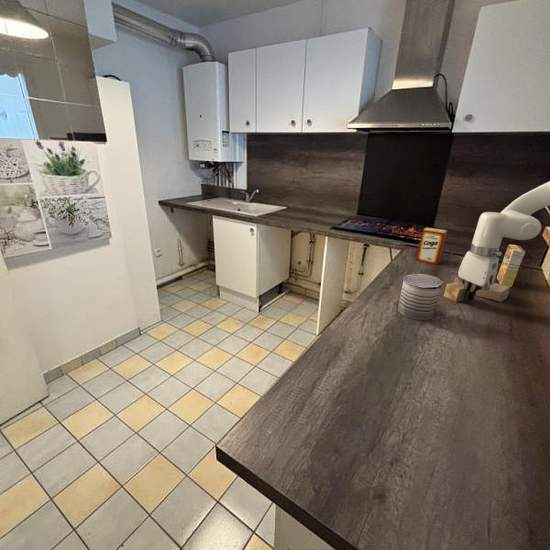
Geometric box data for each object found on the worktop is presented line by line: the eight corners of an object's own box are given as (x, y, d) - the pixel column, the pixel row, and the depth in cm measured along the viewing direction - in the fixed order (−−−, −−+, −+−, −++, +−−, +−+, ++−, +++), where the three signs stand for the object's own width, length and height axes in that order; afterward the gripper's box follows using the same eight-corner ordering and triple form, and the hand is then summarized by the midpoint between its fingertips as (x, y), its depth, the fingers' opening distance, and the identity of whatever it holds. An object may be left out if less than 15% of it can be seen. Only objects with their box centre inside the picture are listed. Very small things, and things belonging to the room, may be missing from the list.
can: (427, 324, 90) (436, 289, 85) (391, 311, 97) (398, 278, 93) (438, 311, 98) (447, 278, 93) (404, 300, 105) (410, 269, 100)
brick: (507, 296, 109) (511, 285, 107) (500, 303, 104) (504, 291, 102) (460, 282, 121) (463, 272, 119) (451, 287, 116) (454, 277, 114)
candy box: (496, 277, 126) (507, 244, 120) (508, 279, 124) (520, 245, 118) (500, 285, 119) (512, 249, 113) (512, 287, 117) (526, 251, 111)
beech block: (465, 299, 106) (469, 287, 104) (455, 301, 105) (459, 289, 103) (453, 294, 111) (456, 282, 109) (443, 296, 109) (446, 283, 107)
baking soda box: (416, 260, 145) (422, 229, 139) (419, 257, 150) (426, 226, 144) (436, 264, 140) (444, 232, 134) (439, 261, 145) (447, 229, 138)
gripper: (515, 256, 91) (495, 308, 98) (469, 243, 103) (455, 289, 111) (499, 259, 88) (480, 311, 95) (455, 245, 101) (441, 292, 108)
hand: (467, 299), depth 103 cm, fingers closed
